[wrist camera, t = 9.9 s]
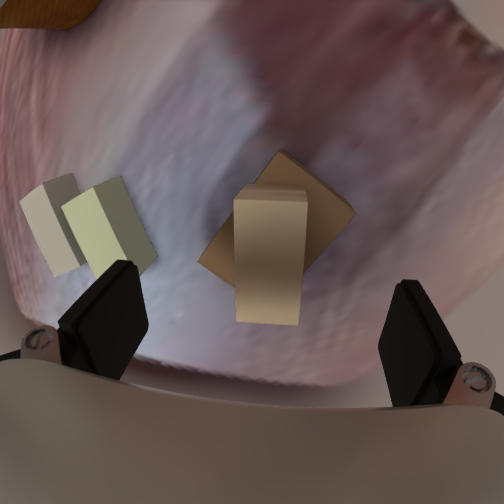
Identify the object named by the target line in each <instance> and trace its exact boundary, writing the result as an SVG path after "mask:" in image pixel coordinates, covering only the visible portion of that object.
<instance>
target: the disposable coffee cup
mask: <svg viewBox="0 0 504 504" xmlns="http://www.w3.org/2000/svg"><path fill="white" fill-rule="evenodd" d="M99 1H100V0H0V29H2V28H3V29H6V28H35V29H36V28H37V29H55V30H56V29H57V30H66V29H70V28H72V27H75V26H76V25H78V24H80V23H81V22H82V21H84V20H85V19H86V18H87V17H88V16H89V15H90V14H91V13H92V12H93V10H94V9H95V8H96V6H97V5H98V3H99Z"/></svg>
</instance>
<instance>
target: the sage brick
mask: <svg viewBox="0 0 504 504" xmlns="http://www.w3.org/2000/svg"><path fill="white" fill-rule="evenodd" d="M61 207H62V210H63V212H64V214H65V216H66V219H67V221H68V223H69V225H70V227H71V229H72V232H73V234H74V236H75V238H76V240H77V242H78V244H79V246H80V248H81V250H82V252H83V254H84V256H85V258H86V260H87V262H88V263H89V265H90V267H91V269H92V271H93V273H94V275H95V277H96V278H97V279H98V278H99V277H100V276H101V275H102V274H103V273H104V272H105V271H106V270H107V269H108V268H109V267H110V266H111V265H112V264H113V263H114V262H115V261H116V260H118V259H120V260H131V261H133V263H134V265H137V267H138V271H139V276H140V275H141V274H142V273H143V272H144V271H145V270H146V269H147V268H148V266H149V265H150V264H151V263H152V262H153V261H154V260H155V259H156V258H157V254H156V252H155V250H154V248H153V246H152V244H151V242H150V240H149V237H148V235H147V233H146V231H145V229H144V227H143V225H142V223H141V220H140V218H139V216H138V214H137V212H136V210H135V207H134V205H133V203H132V201H131V199H130V196H129V194H128V192H127V189H126V187H125V185H124V182H123V180H122V178H121V176H119V177H117V178H114V179H111V180H109V181H106V182H104V183H101V184H99V185H96V186H94V187H92V188H90V189H89V190H87V191H85V192H84V193H82V194H80V195H79V196H77V197H75V198H74V199H72V200H71V201H69V202H67V203H66V204H64V205H63V206H61Z"/></svg>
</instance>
